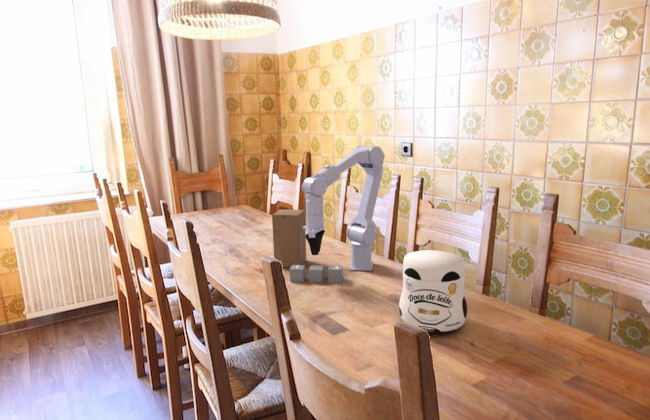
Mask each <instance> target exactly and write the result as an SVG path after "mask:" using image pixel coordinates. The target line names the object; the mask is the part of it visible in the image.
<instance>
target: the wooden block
mask: <svg viewBox="0 0 650 420" xmlns="http://www.w3.org/2000/svg"><path fill="white" fill-rule="evenodd" d="M271 221H272V225H271V226H272V240H273V241H272V243H273V244H272V245H273V259H274V258H275V259H277V260H279V261H281V263H282V265H283V267H282V268H291V266H292V265H304V263H305V262H306V260H307V242H306V241H307V239H306V237H305V235H306V229H303V226H306V210H305V209H279V210H277V211H276V212H273V214H272V215H271Z"/></svg>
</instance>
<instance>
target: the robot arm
mask: <svg viewBox="0 0 650 420" xmlns="http://www.w3.org/2000/svg"><path fill="white" fill-rule="evenodd" d="M385 157H386V156H385V153H384V151H383V149H382V148H381V147H380V146H377V145H375V146H371V145H369V146H367V145H361V144H360V145H356V147H355V148H354V147H353V149H351V151H350V152H349V154H347V155H345V157H343V158H342V159H341V160H339V161H338V162H337V163H336V164H335V165H334V164H326V165H324V168H323V169H321V170H320V171H319V172H316V173H314V174H313V176H309V177H307V178H305V179H304V181H303V183H302V185H301V191H302V193H304V198H305V226H303V229H305V231H307V233H305V237H306V241H307V243H308V245H309V250H310V252H311V253H310V254H311V255H312V256H319V253H320V252H321V248H322V247H321V246H322V240H323V237H324V234H325V231H326V230H325V226H324V225H325V224H324V222H325V220H324V195H325V194H326V192H327V190H328V188H329V187H330V186H332V185H333V184H334V183H336V182H337V181H338V180H339V179H341V175H342V173H344V172H346V171H347V170H349V169H350V168H353V166H355V165H359V167H361V168H362V169H363V170H364V172H365V174H366V176H365V180H364V185H363V189H362V193H361V198H360V201H359V205H358V206H359V207H358V211H357V214H356V216H355V217H354V218H353V219H351V221H350V224H349V226H348V227H347V230H346V236H347V238H348V240H349V242H350V244H351V263H350V266H349V267H350V268H349V270H350V271H367V272H368V271H373V264H374V262H373V261H372V246H373V244H374V242H375V241H376V238H377V237H376V236H377V233H376V229H377V225H376V224H375V222H374V220H373V217H374V212H375V207H376V203H377V199H378V194H379V190H380V186H381V182H382V177H383V174H384V167H383V166H384V162H385Z"/></svg>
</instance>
